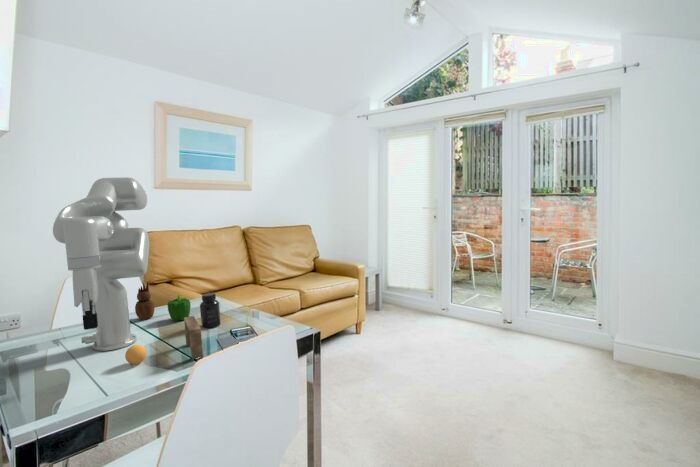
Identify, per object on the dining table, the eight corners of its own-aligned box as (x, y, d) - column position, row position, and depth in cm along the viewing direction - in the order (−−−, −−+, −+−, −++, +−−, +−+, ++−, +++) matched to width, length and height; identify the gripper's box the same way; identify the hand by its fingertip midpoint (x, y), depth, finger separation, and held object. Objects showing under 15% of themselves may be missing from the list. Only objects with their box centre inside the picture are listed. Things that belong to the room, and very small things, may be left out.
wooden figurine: (157, 315, 161) (154, 280, 159) (151, 320, 155) (147, 283, 153) (141, 316, 161) (137, 280, 159) (133, 321, 155) (130, 284, 153)
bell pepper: (182, 323, 150) (180, 298, 149) (164, 322, 152) (162, 297, 151) (196, 316, 158) (194, 292, 157) (179, 315, 160) (177, 291, 159)
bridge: (192, 360, 116) (190, 330, 115) (186, 344, 128) (184, 317, 127) (203, 357, 117) (200, 328, 116) (195, 342, 130) (193, 315, 129)
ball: (126, 369, 111) (124, 350, 111) (126, 362, 116) (124, 344, 116) (147, 364, 114) (145, 346, 113) (146, 357, 119) (145, 340, 118)
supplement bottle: (223, 322, 149) (221, 292, 148) (216, 328, 143) (213, 296, 141) (206, 322, 150) (204, 292, 149) (198, 328, 143) (195, 297, 142)
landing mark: (224, 351, 122) (224, 350, 122) (216, 339, 132) (216, 338, 132) (261, 343, 127) (261, 342, 127) (251, 332, 138) (251, 331, 138)
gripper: (71, 261, 111) (77, 323, 113) (63, 268, 98) (71, 338, 100) (102, 258, 115) (108, 318, 117) (98, 264, 102) (105, 332, 104)
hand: (91, 327), depth 108 cm, fingers closed
